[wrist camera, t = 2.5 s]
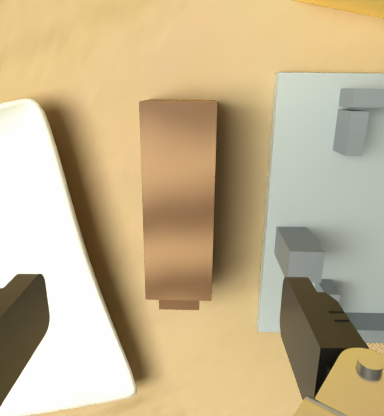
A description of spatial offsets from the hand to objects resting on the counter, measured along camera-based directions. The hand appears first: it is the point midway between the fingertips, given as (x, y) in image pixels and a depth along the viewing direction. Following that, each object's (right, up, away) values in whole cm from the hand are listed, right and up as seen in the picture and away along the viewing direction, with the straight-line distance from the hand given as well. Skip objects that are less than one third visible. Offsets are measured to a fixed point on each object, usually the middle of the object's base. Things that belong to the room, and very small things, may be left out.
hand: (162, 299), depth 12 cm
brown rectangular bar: (0, +4, +18) cm, 19 cm away
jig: (+16, +3, +18) cm, 24 cm away
